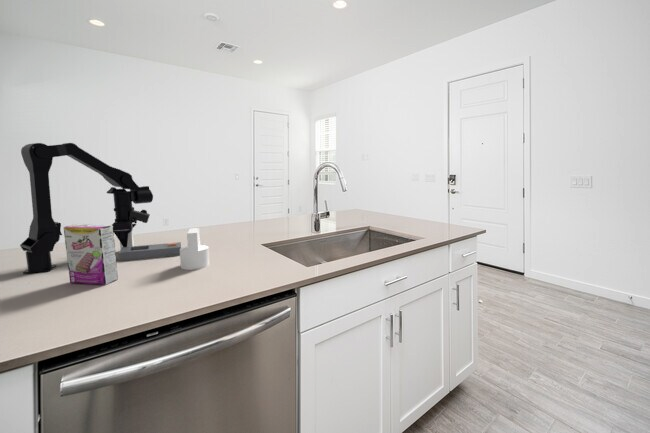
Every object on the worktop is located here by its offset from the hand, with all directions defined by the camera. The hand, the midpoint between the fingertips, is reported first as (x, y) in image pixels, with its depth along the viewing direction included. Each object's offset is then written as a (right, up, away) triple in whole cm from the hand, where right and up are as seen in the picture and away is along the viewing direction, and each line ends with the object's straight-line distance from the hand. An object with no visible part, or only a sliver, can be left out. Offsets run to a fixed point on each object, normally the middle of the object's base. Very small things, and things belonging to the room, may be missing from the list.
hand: (126, 244), depth 121 cm
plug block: (0, -3, +1) cm, 3 cm away
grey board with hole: (+15, -3, -2) cm, 15 cm away
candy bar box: (+11, -8, -32) cm, 35 cm away
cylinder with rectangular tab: (+34, -6, -16) cm, 38 cm away
